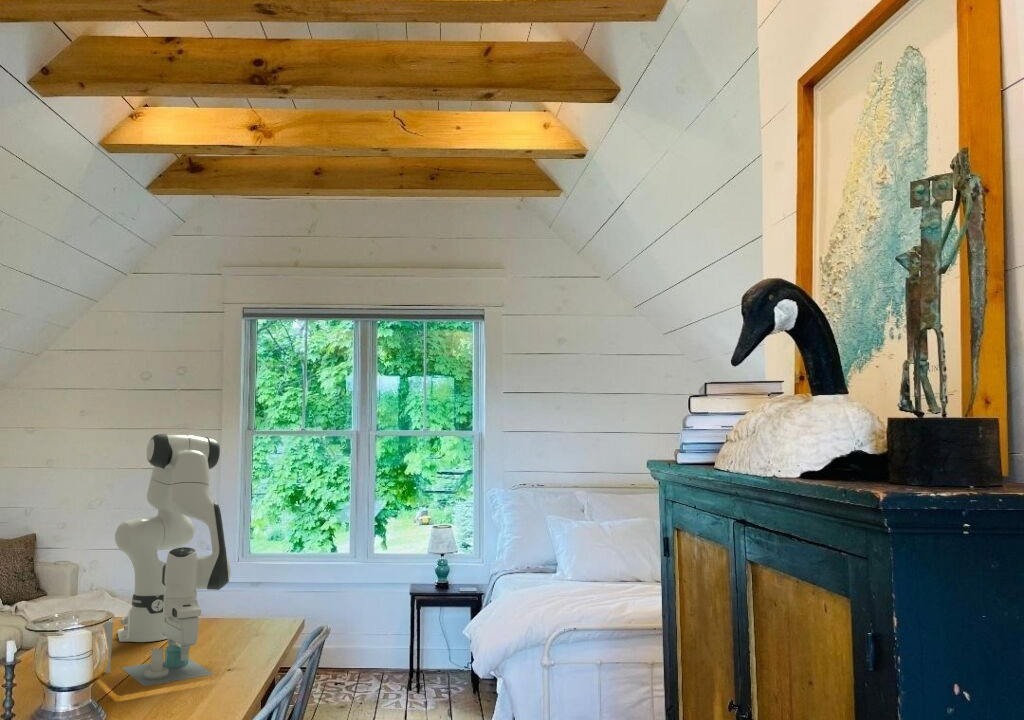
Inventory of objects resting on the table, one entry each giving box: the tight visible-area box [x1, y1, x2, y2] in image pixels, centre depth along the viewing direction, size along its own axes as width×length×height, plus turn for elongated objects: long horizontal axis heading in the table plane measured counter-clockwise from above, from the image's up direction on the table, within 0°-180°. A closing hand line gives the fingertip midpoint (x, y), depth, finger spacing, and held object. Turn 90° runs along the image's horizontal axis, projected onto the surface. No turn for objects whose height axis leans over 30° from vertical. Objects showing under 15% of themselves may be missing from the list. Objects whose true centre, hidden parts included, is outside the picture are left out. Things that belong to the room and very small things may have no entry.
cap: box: [164, 643, 190, 667], centre depth 229 cm, size 6×6×5 cm
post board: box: [121, 647, 214, 691], centre depth 222 cm, size 22×18×8 cm
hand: (177, 656), depth 229 cm, fingers open, 8 cm apart
